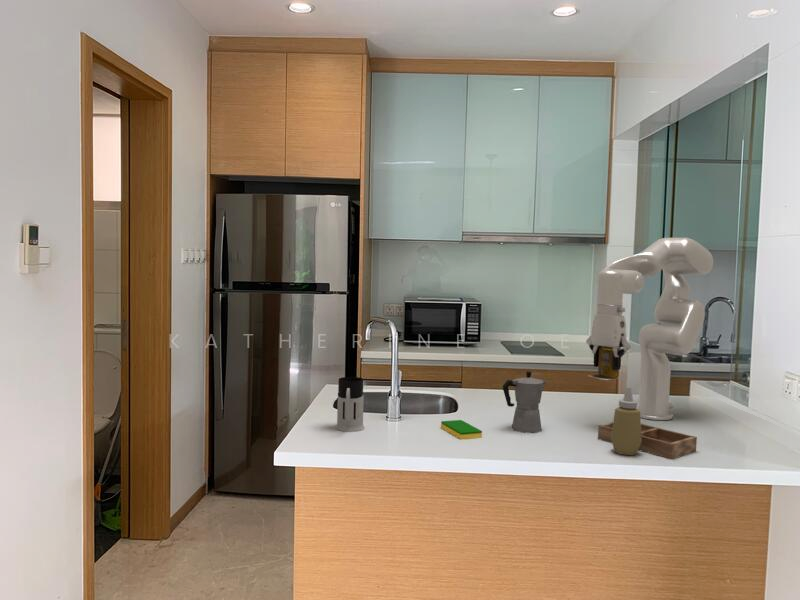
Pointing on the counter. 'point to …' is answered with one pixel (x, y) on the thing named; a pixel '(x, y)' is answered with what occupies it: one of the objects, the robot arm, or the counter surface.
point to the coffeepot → (526, 402)
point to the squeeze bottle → (626, 426)
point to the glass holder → (350, 404)
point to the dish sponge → (461, 429)
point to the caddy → (657, 440)
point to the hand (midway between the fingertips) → (606, 367)
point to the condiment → (606, 365)
